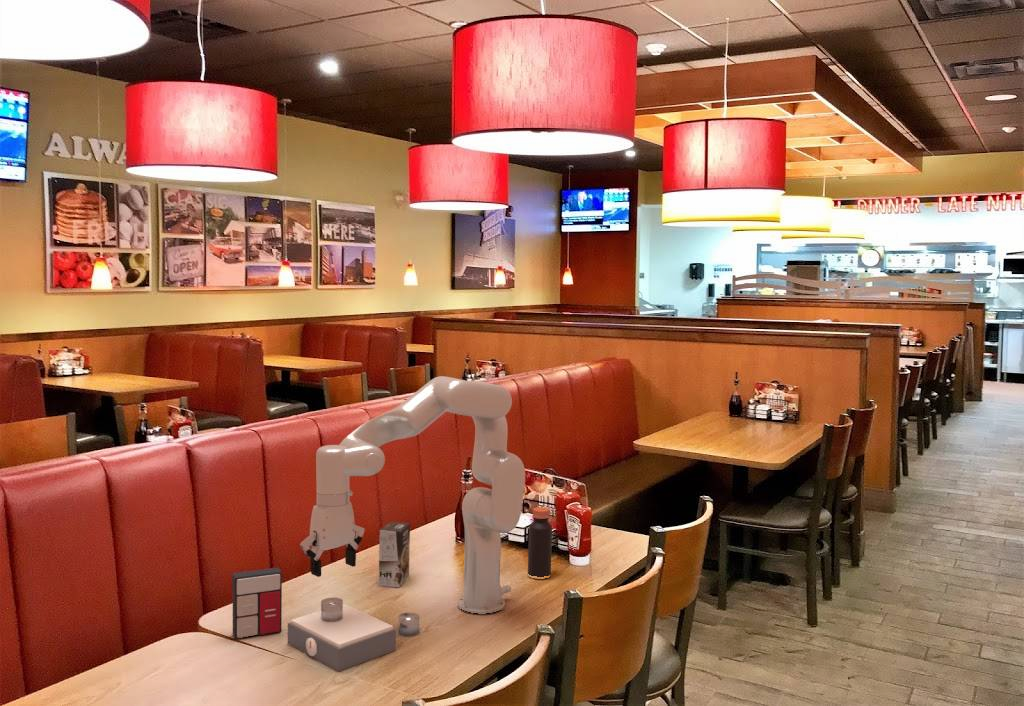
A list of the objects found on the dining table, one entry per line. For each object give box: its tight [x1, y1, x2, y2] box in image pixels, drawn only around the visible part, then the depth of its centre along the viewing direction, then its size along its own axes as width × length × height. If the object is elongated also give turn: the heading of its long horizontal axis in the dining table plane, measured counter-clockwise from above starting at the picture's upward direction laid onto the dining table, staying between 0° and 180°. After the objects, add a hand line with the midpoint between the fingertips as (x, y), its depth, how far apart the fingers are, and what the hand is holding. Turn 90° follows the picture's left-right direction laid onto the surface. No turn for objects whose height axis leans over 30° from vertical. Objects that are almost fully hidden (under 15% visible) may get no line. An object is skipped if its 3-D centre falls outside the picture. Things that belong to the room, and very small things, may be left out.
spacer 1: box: [320, 597, 344, 622], centre depth 205 cm, size 5×5×4 cm
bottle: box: [527, 506, 553, 577], centre depth 254 cm, size 7×7×20 cm
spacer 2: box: [397, 612, 420, 637], centre depth 212 cm, size 5×5×4 cm
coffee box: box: [378, 521, 411, 588], centre depth 247 cm, size 9×6×16 cm
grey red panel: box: [231, 567, 283, 639], centre depth 208 cm, size 11×4×15 cm, turn 117°
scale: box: [287, 603, 397, 672], centre depth 202 cm, size 17×20×6 cm
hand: (333, 570), depth 204 cm, fingers open, 9 cm apart
